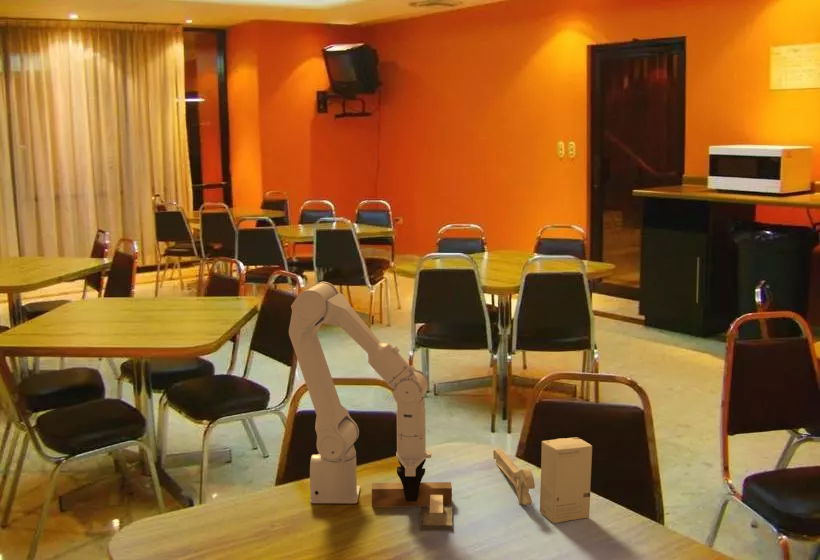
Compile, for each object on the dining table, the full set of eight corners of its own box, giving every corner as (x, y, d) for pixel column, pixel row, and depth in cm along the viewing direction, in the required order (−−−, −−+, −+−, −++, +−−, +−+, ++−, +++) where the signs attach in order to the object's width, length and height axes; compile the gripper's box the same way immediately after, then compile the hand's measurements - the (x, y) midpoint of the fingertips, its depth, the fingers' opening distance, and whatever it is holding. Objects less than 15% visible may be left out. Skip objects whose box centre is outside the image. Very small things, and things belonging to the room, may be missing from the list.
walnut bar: (371, 508, 180) (371, 489, 179) (372, 501, 183) (372, 483, 182) (451, 506, 180) (451, 488, 179) (451, 500, 183) (451, 482, 182)
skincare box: (553, 524, 171) (554, 450, 168) (538, 511, 177) (539, 440, 174) (591, 517, 174) (593, 444, 171) (575, 505, 180) (577, 434, 177)
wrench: (501, 471, 204) (535, 514, 174) (493, 472, 204) (526, 515, 174) (500, 436, 204) (535, 473, 174) (492, 437, 203) (525, 474, 174)
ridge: (420, 530, 169) (420, 512, 169) (421, 511, 177) (421, 494, 177) (452, 530, 169) (452, 512, 169) (451, 511, 177) (451, 495, 176)
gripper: (430, 445, 171) (431, 512, 174) (431, 419, 186) (431, 481, 188) (394, 445, 172) (394, 511, 174) (397, 419, 186) (398, 481, 188)
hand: (411, 496), depth 181 cm, fingers open, 4 cm apart
